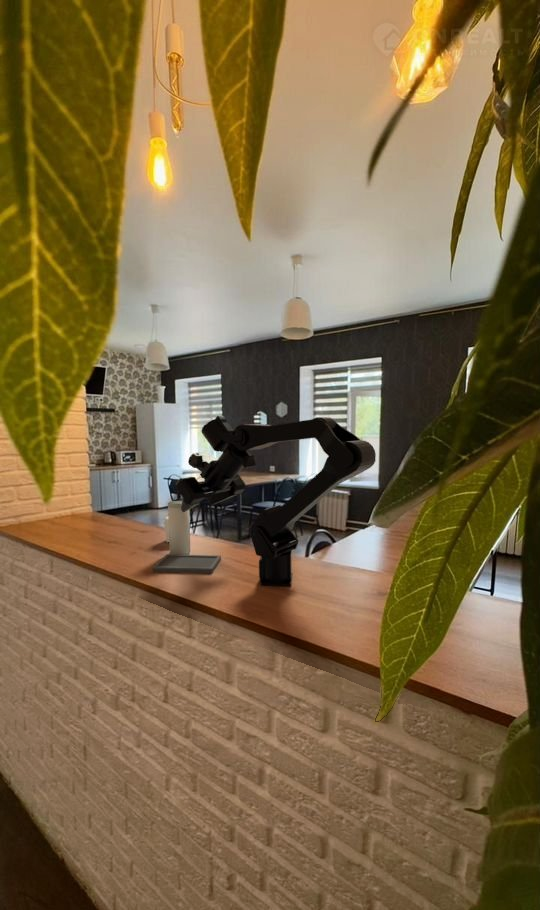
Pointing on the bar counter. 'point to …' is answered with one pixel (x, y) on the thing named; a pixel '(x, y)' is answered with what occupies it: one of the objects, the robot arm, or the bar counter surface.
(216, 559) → the bar mat
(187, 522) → the tumbler
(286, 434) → the robot arm
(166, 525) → the shot glass
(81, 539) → the bar counter surface
